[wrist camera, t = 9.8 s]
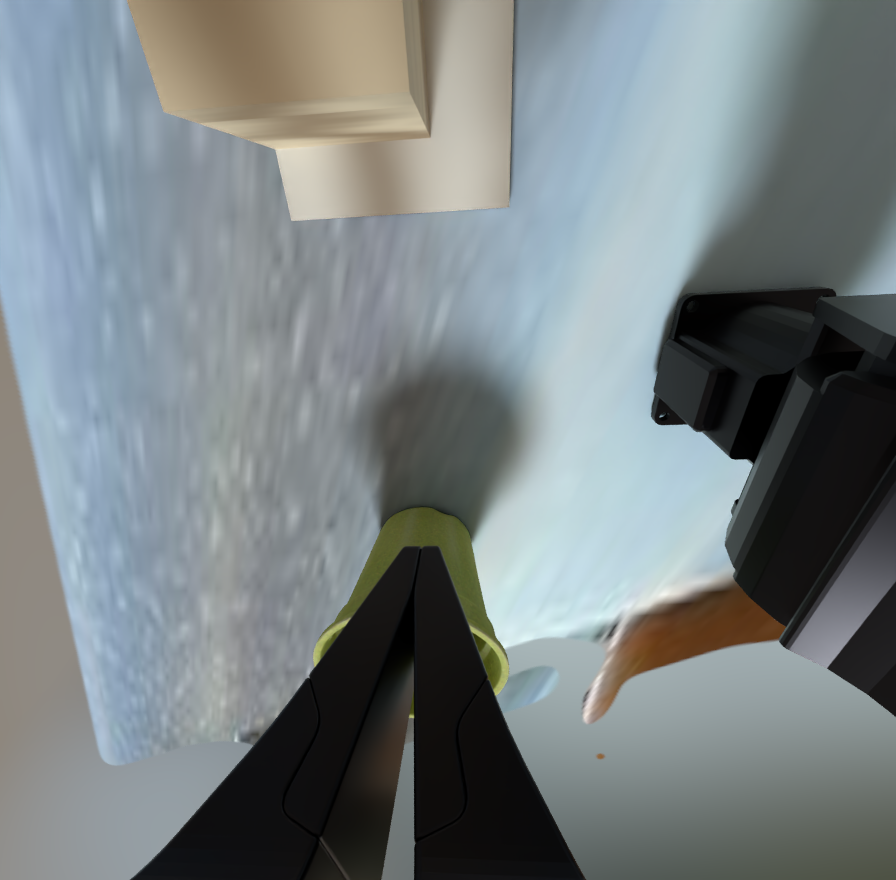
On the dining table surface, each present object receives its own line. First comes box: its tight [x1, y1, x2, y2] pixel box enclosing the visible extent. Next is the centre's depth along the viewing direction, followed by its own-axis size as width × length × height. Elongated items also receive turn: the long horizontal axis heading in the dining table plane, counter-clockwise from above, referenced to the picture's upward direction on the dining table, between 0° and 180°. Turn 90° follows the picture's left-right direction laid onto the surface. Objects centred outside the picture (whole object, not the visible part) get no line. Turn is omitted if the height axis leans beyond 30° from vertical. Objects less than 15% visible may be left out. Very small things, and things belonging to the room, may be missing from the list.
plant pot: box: [313, 507, 509, 718], centre depth 22 cm, size 9×9×9 cm
